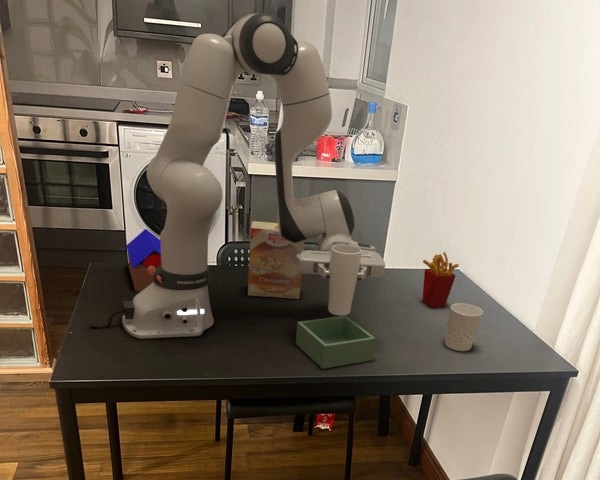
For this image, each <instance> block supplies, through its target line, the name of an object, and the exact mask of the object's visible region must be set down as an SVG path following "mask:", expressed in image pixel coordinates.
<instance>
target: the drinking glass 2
mask: <svg viewBox="0 0 600 480" xmlns="http://www.w3.org/2000/svg"><path fill="white" fill-rule="evenodd" d="M360 261H361V249H360V248H358V247H356V246H352V245H344V244H340V245H335V246H333V247H332V249H331V255H330V265H329V271H330V279H328V304H327V310H328V312H329V313H331V314H332V315H335V316H337V317H339V316H348V315H349V314H350V313H351V311H352V304H353V300H354V295H355V290H356V285H357V282H358V280H357V277H358V273H359V268H360Z"/></svg>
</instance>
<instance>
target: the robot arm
mask: <svg viewBox="0 0 600 480" xmlns="http://www.w3.org/2000/svg"><path fill="white" fill-rule="evenodd" d="M241 74H251V75H255V76H259V75H260V76H261V75H270V76H271V77H272V78H273V80H274V82H275V84H276V87H277V89H278V91H279V97H280V103H281V107H282V122H281V125H280V128H279V129H278V130H277V131H276V132H275V135H274V164H275V165H274V166H275V180H276V182H275V183H276V193H277V212H276V213H277V214H276V221H277V222H276V223H277V224H278V229H279V231H280V233H281V235H282V237H283V238H285V239H286V240H288V241H290V242H293V243H297V242H300V241H303V240H305V241H306V240H308V239H310V238H315V237H317V249H318V250H310V249H307V250H306V249H304V251H302V252H301V253H300V254H297V255H296V259H297V260H298V261H299V263H298V272H300V273H302V275H303V274H304V275H319V276H320V277H322V278H323V279H328V280H329V279H330V271H329V265H330V255H331V249H332V247H333V246H335V245H340V244H344V245H352V246H356V247H358V248H360V249H361V261H360V268H359V273H358V277H357V282H358V281H360V282H364V281H365V279H382V278H384V275H385V270H386V262H385V260H384V259H383V257H382V256H381V254H380V253H378V252H376V247H375V246H373V245H371V244H365V243H361V242H357V241H355V240H352V237H351V236H352V235H353V232H354V230H355V217H354V212H353V209H352V206H351V203H350V201H349V199H348V197H347V195H346V194H345V193H343V192H342V191H340V190H338V189H333V190H329V191H324V192H321V193H318V194H314V195H310V196H306V197H302V198H295V197H294V181H293V164H294V161H295V160H296V158H297V156H299V154H301V153H302V152H303V151H304V150H305V149H307V148H308V147H309V146H311V145H312V144H314V143H315V142H317V140H319V139H320V138H321V137H322V136H323V135H324V134H325V133H326V132H327V130H328V128H329V127H330V125H331V123H332V119H333V108H332V107H333V106H332V98H331V92H330V87H329V82H328V78H327V74H326V71H325V68H324V64H323V61H322V59H321V56H320V53H319V50H318V49H317V48H316V46H315V45H314V44H313V43H311V42H308V41H303V40H298V41H297V40H296V39H295V37H294V36H293V34H292V33H291V32H290V30H289V28H288V27H287V26H286V24H285V23H284V22H283V21H282V20H281V19H280V18H279V17H277V16H276V15H274V14H272V13H268V12H260V13H249V14H247V15H245V16H243V17H241V18H239V19H237V20H235V21H234V22H233V23H232V24H231V25H230V26H229V28H228V29H226V31H225V32H224V33H223V34H222V35H219V34H215V33H211V32H209V33H208V32H207V33H202V34H199V35H198V36H196V37H195V38H194V39H193V41H192V43H191V46H190V48H189V50H188V53H187V56H186V58H185V62H184V64H183V67H182V70H181V75H180V79H179V84H178V87H177V92H176V96H175V101H174V104H173V109H172V114H171V117H170V121H169V124H168V126H167V130H166V132H165V134H164V136H163V139H162V141H161V143H160V146H159V148H158V149H157V153H156V155H155V156H154V157H153V158H151V160H149V163H148V165H147V166H146V167H147V168H146V180H147V182H148V184H149V186H150V188H151V190H152V192H153V193H154V195H156V196H157V198H159V199H160V200H162V201H164V202H165V204H166V208H167V209H166V217H165V223H164V227H163V229H162V231H160V235H159V239H160V246H161V266H160V267H159V268H158V269H156V268H155V267H154V266H149V268H148V269H147V270H148V272H149V274H150V275H152V276H153V279H154V282H153V283H151V284H150V285H149V286H148V287H146V288H145V289H144V290H142V291H139V292H138V293H137V294H136V295H134V297H133V298H132V300H131V299H130V300H122V308H120V309H118V310H115V311H114V312H112V313H111V314H110V315H109V317H108V320H107V323H106V324H90V328H91V329H92V328H95V329H106V328H108V327H110V326H111V324H112V320H113V318H114V316H116V315H118V314H121V313H123V315H122V319H121V324H122V327H123V329H124V330H125V332H127V334H129V335H130V336H131V337H134V338H136V339H143V340H144V339H162V338H163V339H164V338H183V337H184V338H186V337H200V336H202V334H203V333H204V331H206V330H207V329H209V328H210V327H212V326H213V325H214V323H215V319H214V316H213V313H212V308H211V302H210V295H209V293H210V292H209V290H210V283H211V275H210V274H211V273H210V267H209V265H208V264H209V262H208V261H209V260H208V259H209V258H208V255H209V235H210V228H211V225H212V221H213V217H214V214H215V213H216V212H217V211H218V210H219V208H220V207H221V205H222V202H223V195H224V193H223V187H222V184H221V183H220V180H218V178H217V177H216V176H215V175H214V173H213V172H212V171H211V170H210V169H209V168H207V167H206V166H204V164H205V162H206V160H207V158H208V156H209V154H210V152H211V150H212V149H213V147H214V146H215V145H216V144H217V143H219V142H220V140H221V137H222V134H223V131H224V126H225V122H226V119H227V114H228V112H229V111H228V110H229V107H230V101H231V98H232V93H233V88H234V86H235V84H236V81H237V80H238V78H239V76H241Z"/></svg>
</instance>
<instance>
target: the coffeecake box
mask: <svg viewBox="0 0 600 480" xmlns="http://www.w3.org/2000/svg"><path fill="white" fill-rule="evenodd" d="M250 225H251V226H250V236H249V238H250V239H249V259H248V260H249V261H248V280H247V296H254V297H265V298H278V299H279V298H280V299H291V300H293V299H295V300H300V294H301V284H302V275H303V274H302V273H300V272H298V263H299V261H298V260H297V259H296V255H297V254H300V253H301V252H302V251H304V250H305V242H306V240H303V241H300V242H297V243H293V242H290V241H288V240H286V239H285V238H283V237H282V235H281V233H280V231H279V229H278V224H277V222H268V221H256V220H252V221H251V224H250Z"/></svg>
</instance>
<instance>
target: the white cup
mask: <svg viewBox="0 0 600 480" xmlns="http://www.w3.org/2000/svg"><path fill="white" fill-rule="evenodd" d="M483 314H484V311H483V310H482V309H481V308H480V307H478V306H476V305H473V304H469V303H463V302H457V303H453V304H451V305H450V308H449V313H448V320H447V325H446V332H445V333H446V335H445V338H444V344H445V346H446V347H447V348H448V349H451V350H453V351H456V352H457V351H458V352H468V351H470V350H471V349H472V348H473V344H474V341H475V338H476V335H477V332H478V330H479V327H480V323H481V320H482V317H483Z"/></svg>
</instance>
